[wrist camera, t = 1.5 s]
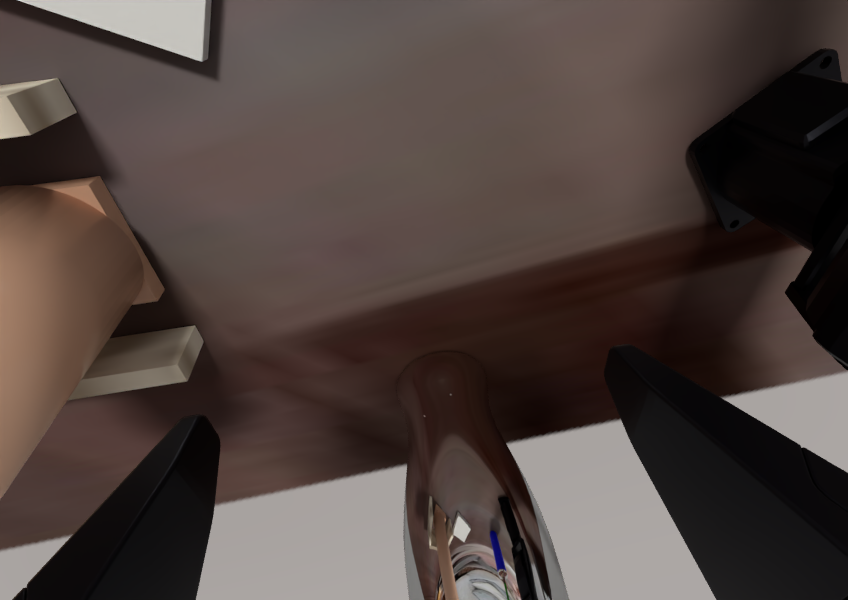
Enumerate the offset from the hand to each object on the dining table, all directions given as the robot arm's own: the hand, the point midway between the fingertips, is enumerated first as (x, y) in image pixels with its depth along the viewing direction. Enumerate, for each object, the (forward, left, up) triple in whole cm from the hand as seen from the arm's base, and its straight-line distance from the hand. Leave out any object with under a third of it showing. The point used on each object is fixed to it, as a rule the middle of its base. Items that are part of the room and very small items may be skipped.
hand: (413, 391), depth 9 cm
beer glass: (-13, +7, -13) cm, 20 cm away
